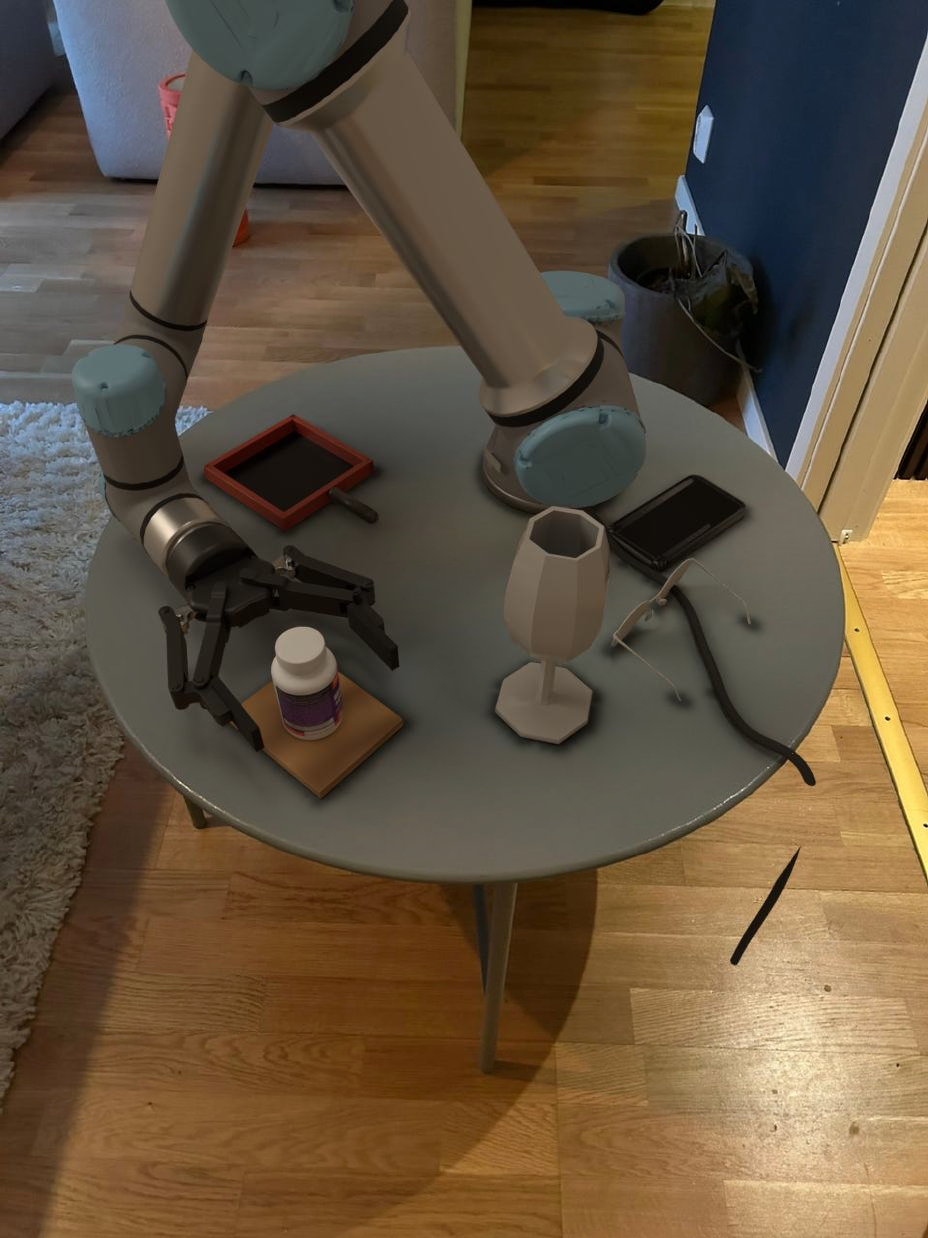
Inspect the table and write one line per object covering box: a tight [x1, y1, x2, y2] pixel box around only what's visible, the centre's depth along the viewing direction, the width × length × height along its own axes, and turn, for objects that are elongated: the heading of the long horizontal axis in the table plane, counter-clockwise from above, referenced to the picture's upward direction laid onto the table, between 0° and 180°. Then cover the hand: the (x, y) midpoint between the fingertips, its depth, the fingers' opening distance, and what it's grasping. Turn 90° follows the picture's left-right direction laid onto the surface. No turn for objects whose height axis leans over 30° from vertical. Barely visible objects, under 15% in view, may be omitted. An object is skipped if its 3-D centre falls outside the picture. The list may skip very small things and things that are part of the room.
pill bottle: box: [270, 626, 343, 740], centre depth 76 cm, size 5×5×10 cm
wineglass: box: [494, 506, 611, 745], centre depth 74 cm, size 9×9×21 cm
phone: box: [607, 474, 746, 573], centre depth 98 cm, size 8×1×15 cm
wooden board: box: [229, 671, 404, 799], centre depth 80 cm, size 12×10×1 cm
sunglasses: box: [611, 557, 752, 702], centre depth 86 cm, size 14×8×5 cm, turn 139°
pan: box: [202, 413, 380, 532], centre depth 102 cm, size 21×14×2 cm, turn 49°
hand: (329, 698), depth 73 cm, fingers open, 12 cm apart
